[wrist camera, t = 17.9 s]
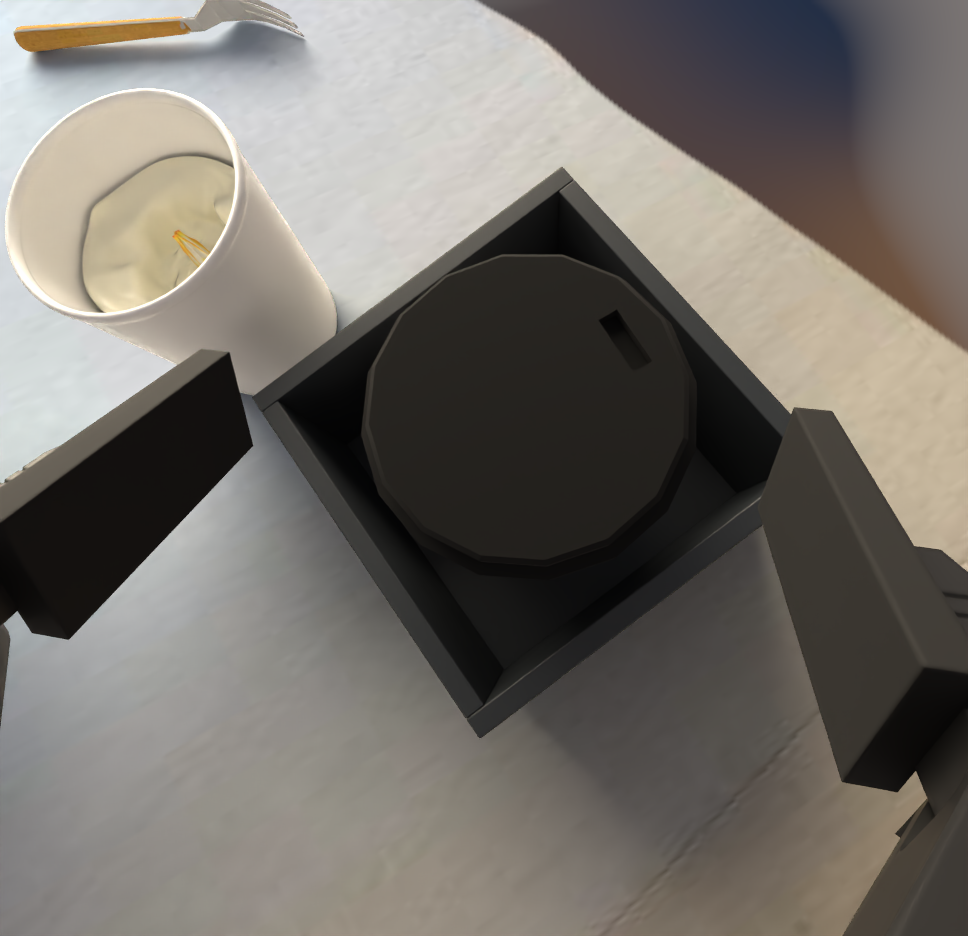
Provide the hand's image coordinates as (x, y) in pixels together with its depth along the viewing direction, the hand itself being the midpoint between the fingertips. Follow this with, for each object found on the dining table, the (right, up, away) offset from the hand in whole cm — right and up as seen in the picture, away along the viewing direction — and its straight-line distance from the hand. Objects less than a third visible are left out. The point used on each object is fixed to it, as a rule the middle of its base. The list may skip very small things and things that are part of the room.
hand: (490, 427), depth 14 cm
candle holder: (-13, +7, +20) cm, 25 cm away
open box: (+2, -1, +17) cm, 17 cm away
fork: (-22, +27, +25) cm, 43 cm away
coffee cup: (+2, -1, +16) cm, 16 cm away
